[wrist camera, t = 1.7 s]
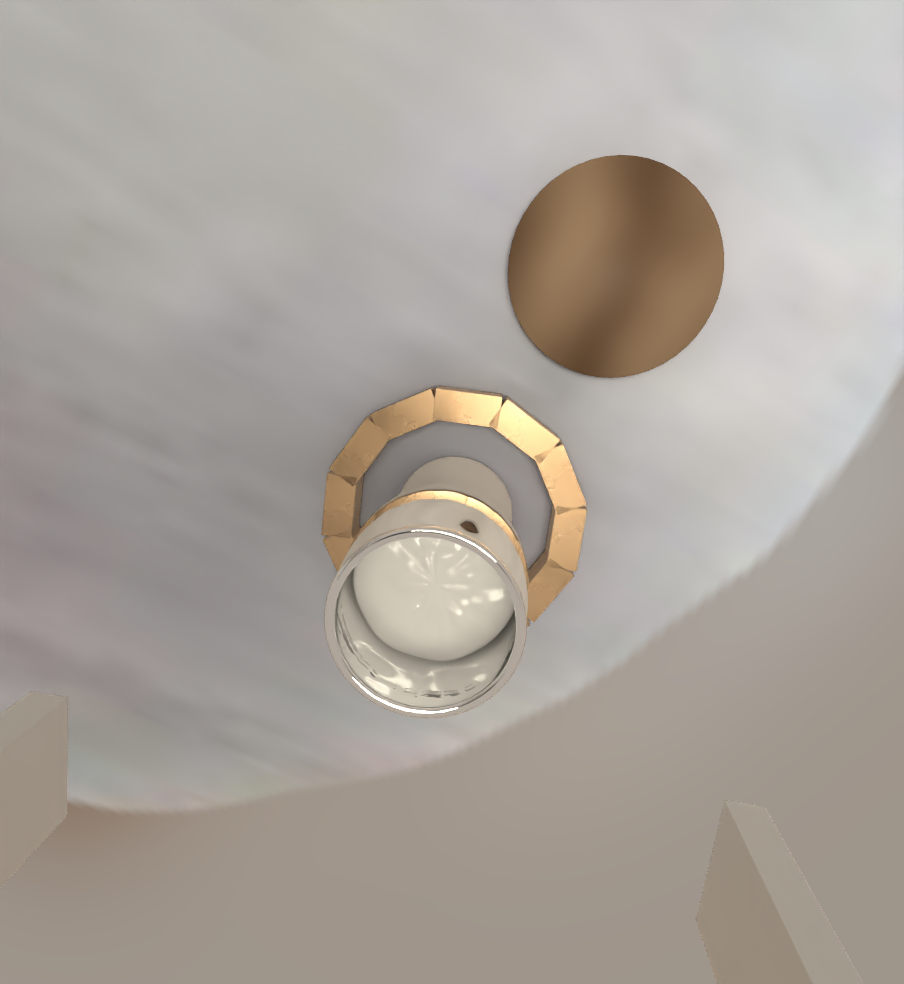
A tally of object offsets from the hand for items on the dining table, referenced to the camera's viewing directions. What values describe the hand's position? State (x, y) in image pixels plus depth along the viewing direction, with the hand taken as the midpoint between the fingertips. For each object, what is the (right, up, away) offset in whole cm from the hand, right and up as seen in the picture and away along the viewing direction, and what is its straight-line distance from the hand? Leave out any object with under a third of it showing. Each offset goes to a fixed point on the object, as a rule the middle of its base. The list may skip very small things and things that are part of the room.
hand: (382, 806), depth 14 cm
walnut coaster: (+9, +17, +20) cm, 28 cm away
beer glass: (+2, +5, +23) cm, 24 cm away
